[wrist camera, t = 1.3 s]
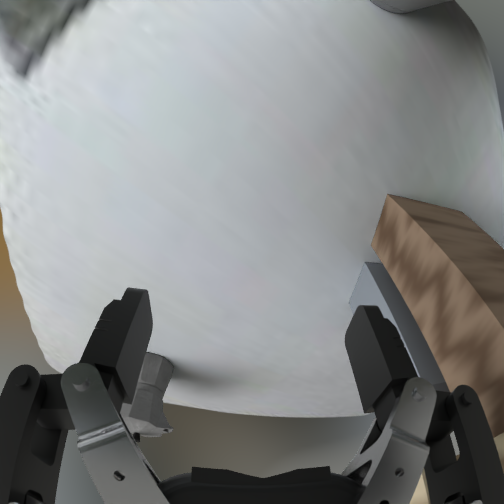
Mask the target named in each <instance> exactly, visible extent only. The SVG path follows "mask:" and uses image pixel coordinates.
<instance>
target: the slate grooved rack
mask: <svg viewBox="0 0 504 504" xmlns="http://www.w3.org/2000/svg"><path fill="white" fill-rule="evenodd" d="M349 304H350V307H351V309H352V312H353V315H354V313H355V311H356V309H357V307H358V306H359V305H376V306H378V307H379V308H380V310H381V312H382V315H383V317H384V318H388V319H389V320H390V321H391V322H392V323H393V324H394V325H395V326H396V328H397V330H398V332H399V334H400V336H401V339H402V341H403V343H404V347H406V350H407V352H408V354H409V356H410V358H411V361H412V363H413V365H414V368H415V370H416V372H417V375H418V377H421V378H424V379H426V380H428V381H429V382H430V383H431V384H432V385H433V387H434V388H435V390H437V391H444V392H450V391H449V388H448V386H447V384H446V381H445V379H444V377H443V375H442V373H441V370H440V368H439V366H438V364H437V362H436V360H435V358H434V356H433V354H432V352H431V349H430V347H429V345H428V343H427V341H426V339H425V338H424V336H423V334H422V332H421V330H420V328H419V326H418V324H417V322H416V320H415V319H414V317H413V315H412V313H411V311H410V309H409V308H408V306H407V304H406V302H405V300H404V299H403V297H402V295H401V293H400V292H399V290H398V288H397V287H396V285H395V283H394V281H393V280H392V278H391V276H390V275H389V273H388V271H387V270H386V268H385V267H384V265H383V264H378V263H367V262H365V263H364V266H363V268H362V271H361V274H360V276H359V279H358V281H357V284H356V286H355V289H354V291H353V294H352V296H351V299H350V301H349Z"/></svg>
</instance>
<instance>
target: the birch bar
mask: <svg viewBox="0 0 504 504" xmlns="http://www.w3.org/2000/svg"><path fill="white" fill-rule="evenodd" d="M494 441H495V444H496V448H497V451H498V454H499V458H500V461H501V465H502V469H503V473H504V433H502V434H500V435H498V436H496V437H495V438H494ZM459 455H460V454H459ZM459 455H457V456H456V459H457V460H458V459H459ZM410 504H431V503H430V497H429V491H428V486H427V480H426V475H425V470H424V469H423V472H422V474H421V477H420V479H419V482H418V485H417V487H416V490H415V492H414V494H413V497H412V499H411V501H410Z"/></svg>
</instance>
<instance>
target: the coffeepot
mask: <svg viewBox="0 0 504 504" xmlns="http://www.w3.org/2000/svg"><path fill="white" fill-rule="evenodd" d="M173 368H174V367H173V366H172V364H171V363H170V362H169V361H168V360H167V359H165V358H163V357H162V356H159V355H157V354H153V353H147V352H146V354H145V358H144V361H143V365H142V368H141V372H140V376H139V379H138V383H137V387H136V391H135V395H134V398H133V402H132V405H131V404H127V403H123V404H122V408H121V411H120V413H121V415H122V417H123V419H124V421H125V423H126V425H127V427H128V429H129V431H130V432H131V433H134V434H133V438H134V440H135V441H136V442H140V435H141V436H145V437H160V436H161V435H162V433H169V432H172V431H173V427H171V426H170V425H169V423H168V422H167V420H166V417H165V415H164V413H163V401H162V399H163V396H164V393H165V391H166V388H167V386H168V383H169V381H170V379H171V376H172V372H173Z"/></svg>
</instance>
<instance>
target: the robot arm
mask: <svg viewBox="0 0 504 504" xmlns="http://www.w3.org/2000/svg"><path fill="white" fill-rule="evenodd" d="M370 1H372V2H373V3H374V4H376V5H377V6H379V7H380V8H383V9H385V10H387V11H390V12H393V13H400V14H401V13H408V12H411V11H415V10H418V9H421V8H425V7H429V6H432V5H436V4H440V3H444V2H448V1H453V0H370ZM152 326H153V320H152V313H151V307H150V300H149V294H148V291H147V290H145V289H136V288H127V289H126V291H125V293H124V295H123V297H122V299H121V300H113V301H112V302H111V303H110V304H108V305H107V306H106V307H105V308H104V310H103V312H102V314H101V316H100V318H99V321H98V322H97V324H96V327H95V329H94V331H93V333H92V335H91V337H90V339H89V342H88V344H87V346H86V348H85V350H84V353H83V355H82V357H81V360H80V361H79V363H77V364H74V365H71V366H70V367H68V368H67V369H66V370H65V371H64V373H63V374H50V375H40V374H39V373H38V371H37V370H36V369H35V368H34V367H33V366H31V365H20V366H18V367H16V368H15V369H14V370H13V371H12V372H11V373H10V375H9V377H8V379H7V381H6V384H5V386H4V388H3V391H2V393H1V396H0V504H55V497H56V489H57V483H58V477H59V472H60V466H61V461H62V456H63V451H64V447H65V442H66V438H67V433H68V430H72V429H76V432H77V434H78V437H79V441H78V442H77V444H78V448H79V451H80V454H81V456H82V458H83V461H84V463H85V465H86V467H87V469H88V472H89V473H90V476H91V478H92V480H93V482H94V484H95V486H96V488H97V490H98V491H99V494H100V495H101V497H102V499H103V501H104V503H105V504H410V501H411V499H412V497H413V494H414V492H415V490H416V487H417V485H418V482H419V479H420V477H421V474H422V472H423V469H424V470H425V475H426V480H427V486H428V491H429V497H430V503H431V504H504V473H503V469H502V465H501V461H500V458H499V454H498V451H497V448H496V444H495V441H494V438H493V435H492V432H491V429H490V426H489V423H488V421H487V418H486V415H485V412H484V410H483V407H482V405H481V402H480V400H479V397H478V395H477V393H476V392H475V390H474V389H473V388H471V387H470V386H468V385H459V386H457V387H456V388H455V389H454V390H453V391H452V393H451V392H444V391H437V390H435V388H434V387H433V385H432V384H431V383H430V382H429V381H428V380H426V379H424V378H421V377H418V375H417V372H416V370H415V368H414V365H413V363H412V361H411V358H410V356H409V354H408V352H407V350H406V347H404V343H403V341H402V339H401V336H400V334H399V332H398V330H397V328H396V326H395V325H394V324H393V323H392V322H391V321H390V320H389V319H388V318H384V317H383V315H382V312H381V310H380V308H379V307H378V306H376V305H359V306H358V307H357V309H356V311H355V313H354V316H353V318H352V320H351V322H350V325H349V327H348V329H347V331H346V335H345V346H346V350H347V353H348V356H349V360H350V363H351V366H352V370H353V373H354V377H355V381H356V384H357V388H358V391H359V395H360V399H361V403H362V406H363V410H364V413H372V412H375V415H376V418H375V419H374V420H373V422H372V424H371V426H370V428H369V431H368V432H367V434H366V436H365V438H364V440H363V442H362V444H361V446H360V448H359V450H358V452H357V453H356V455H355V457H354V458H353V460H352V461H351V462H350V463H349V464H348V466H347V467H346V468H345V470H344V471H343V472H342V474H341V475H340V474H335V473H331V472H330V467H329V466H326V467H316V468H306V469H296V470H293V471H290V472H287V473H283V474H279V475H275V476H271V477H268V478H259V477H254V476H250V475H245V474H242V473H238V472H234V471H230V470H223V469H210V468H199V467H192V473H184V474H180V475H176V476H173V477H170V478H168V479H166V480H164V481H162V482H161V481H160V480H159V478H158V477H157V475H156V474H155V472H154V471H153V469H152V468H151V466H150V464H149V463H148V461H147V460H146V458H145V457H144V455H143V454H142V452H141V450H140V449H139V447H138V445H137V444H136V441H135V440H134V438H133V436H132V434H131V432H130V431H129V429H128V427H127V425H126V423H125V421H124V419H123V417H122V415H121V413H120V411H121V408H122V404H123V403H127V404H131V405H132V402H133V398H134V395H135V391H136V387H137V383H138V379H139V376H140V372H141V368H142V365H143V361H144V358H145V354H146V351H147V347H148V344H149V340H150V337H151V333H152ZM453 431H454V433H455V437H456V440H457V443H458V447H459V451H460V455H459V459H458V460H457V459H456V455H455V451H454V448H453V445H452V440H451V437H450V433H451V432H453Z"/></svg>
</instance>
